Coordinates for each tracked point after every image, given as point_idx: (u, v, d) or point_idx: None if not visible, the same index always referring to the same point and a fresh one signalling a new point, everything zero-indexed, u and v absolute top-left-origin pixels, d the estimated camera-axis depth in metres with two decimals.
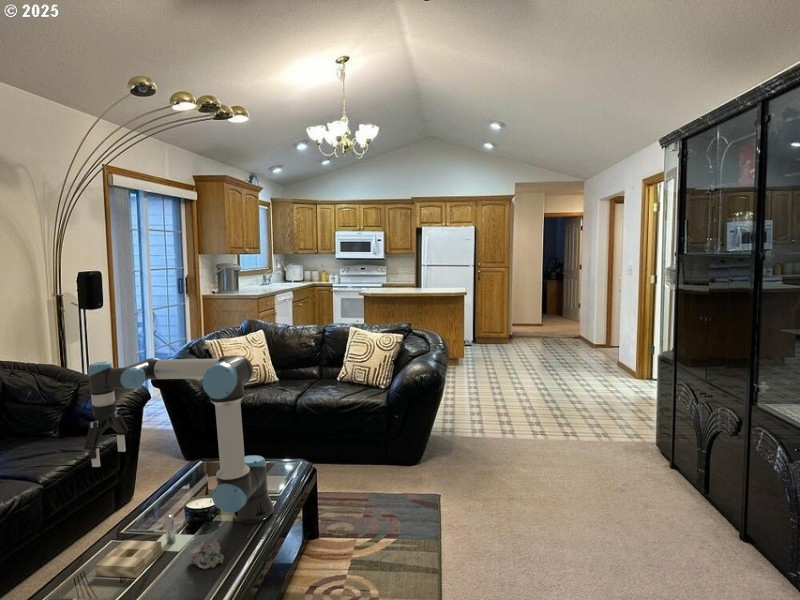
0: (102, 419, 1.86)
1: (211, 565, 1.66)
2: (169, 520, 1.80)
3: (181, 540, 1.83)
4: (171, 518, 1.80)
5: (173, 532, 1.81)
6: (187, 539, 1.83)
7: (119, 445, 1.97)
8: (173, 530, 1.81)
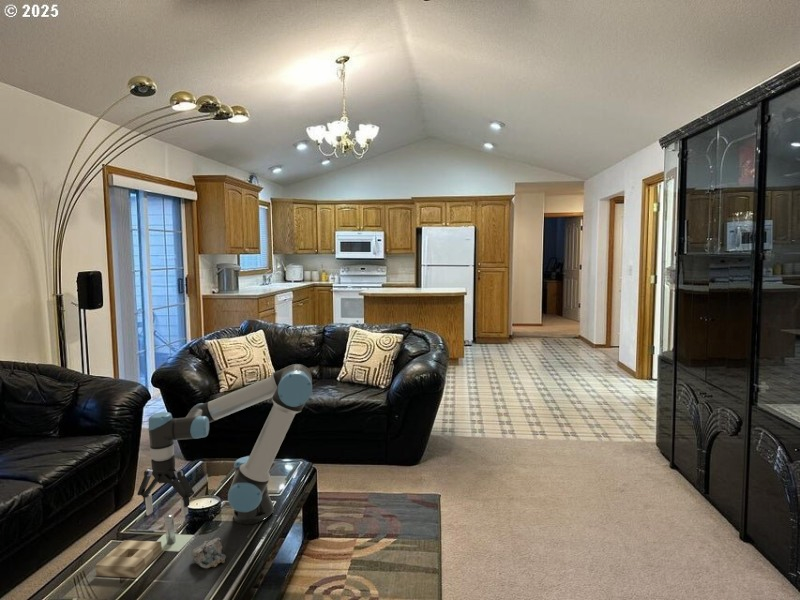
0: (154, 471, 1.78)
1: (212, 565, 1.67)
2: (169, 520, 1.80)
3: (181, 540, 1.83)
4: (171, 518, 1.80)
5: (173, 532, 1.81)
6: (187, 539, 1.83)
7: None
8: (173, 530, 1.81)
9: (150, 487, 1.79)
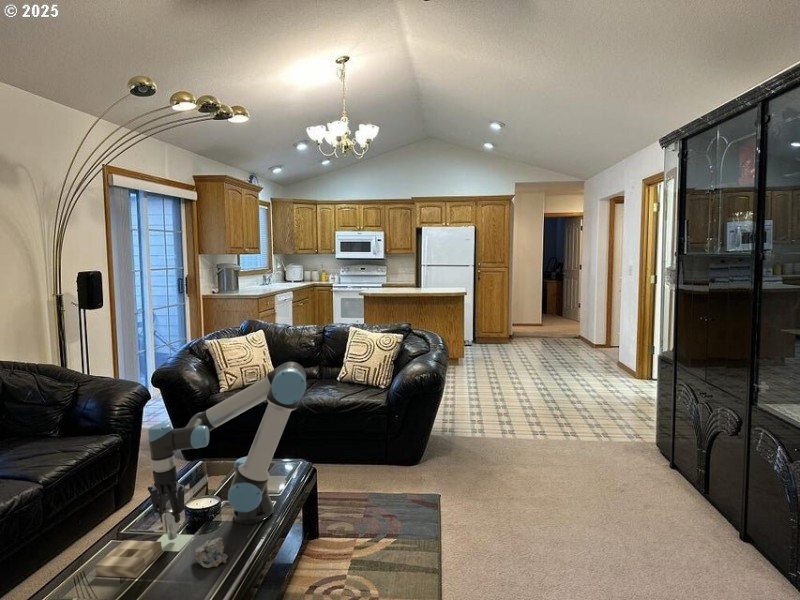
0: (155, 482, 1.79)
1: (214, 564, 1.67)
2: (170, 515, 1.80)
3: (181, 540, 1.83)
4: (172, 513, 1.80)
5: None
6: (187, 539, 1.83)
7: None
8: None
9: (160, 501, 1.79)
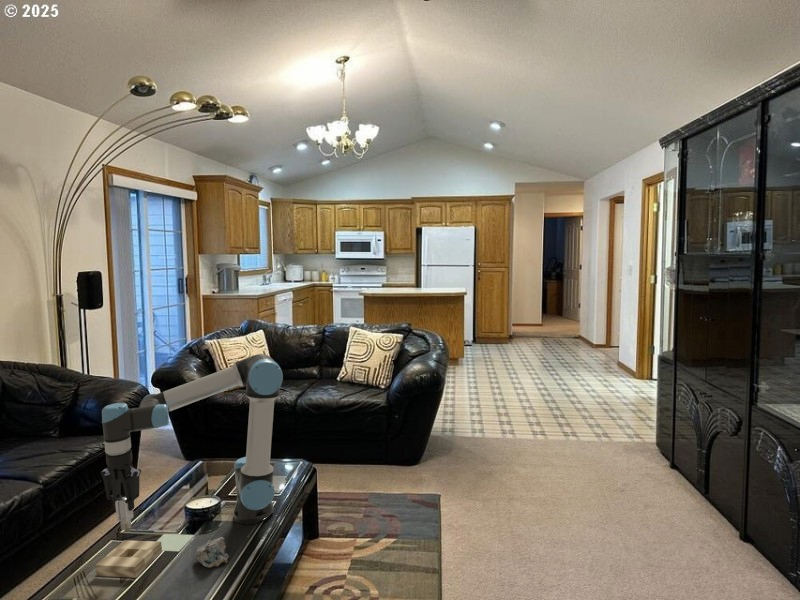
0: (109, 467, 1.67)
1: (215, 564, 1.67)
2: (123, 503, 1.67)
3: (181, 540, 1.83)
4: None
5: None
6: (187, 539, 1.83)
7: None
8: None
9: (114, 487, 1.67)
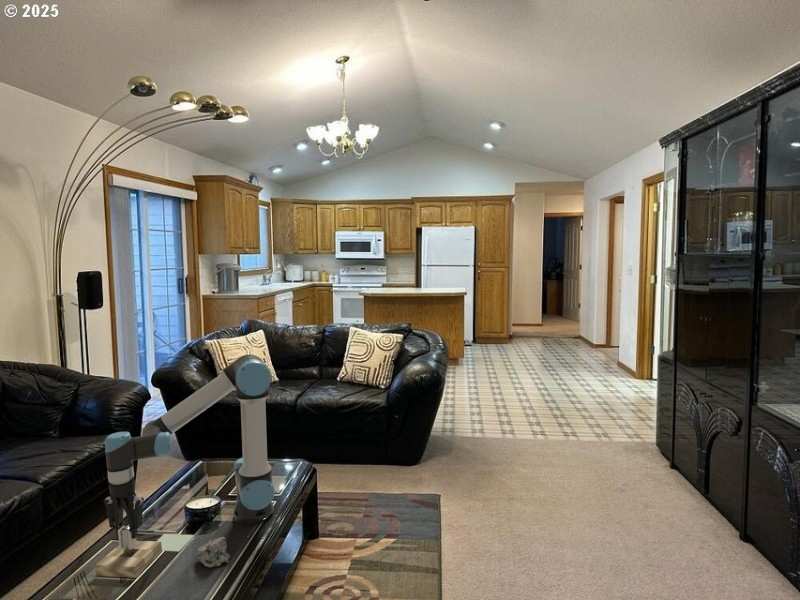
0: (112, 495, 1.67)
1: (216, 564, 1.67)
2: (126, 532, 1.68)
3: (181, 540, 1.83)
4: None
5: None
6: (187, 539, 1.83)
7: None
8: None
9: (117, 516, 1.68)
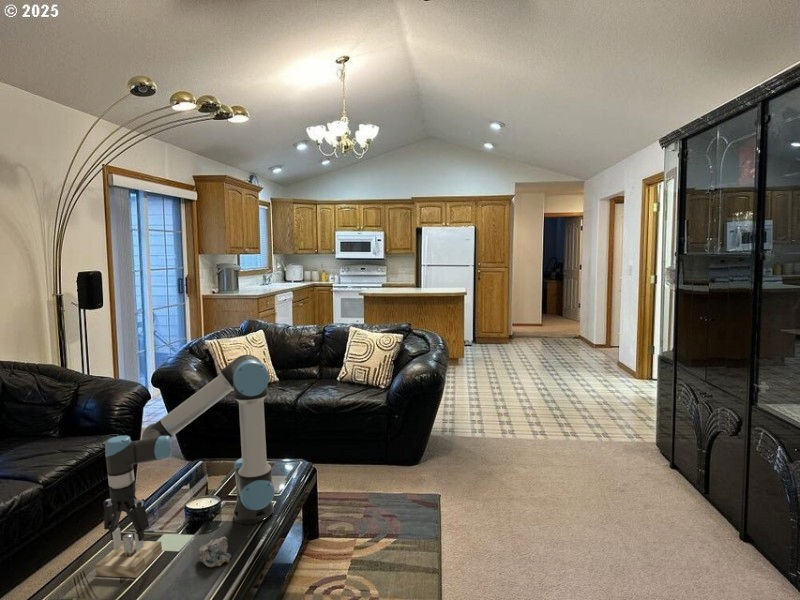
0: (113, 499, 1.68)
1: (217, 564, 1.67)
2: (128, 540, 1.68)
3: (181, 540, 1.83)
4: (130, 538, 1.69)
5: (132, 553, 1.70)
6: (187, 539, 1.83)
7: None
8: (132, 551, 1.70)
9: (114, 518, 1.68)
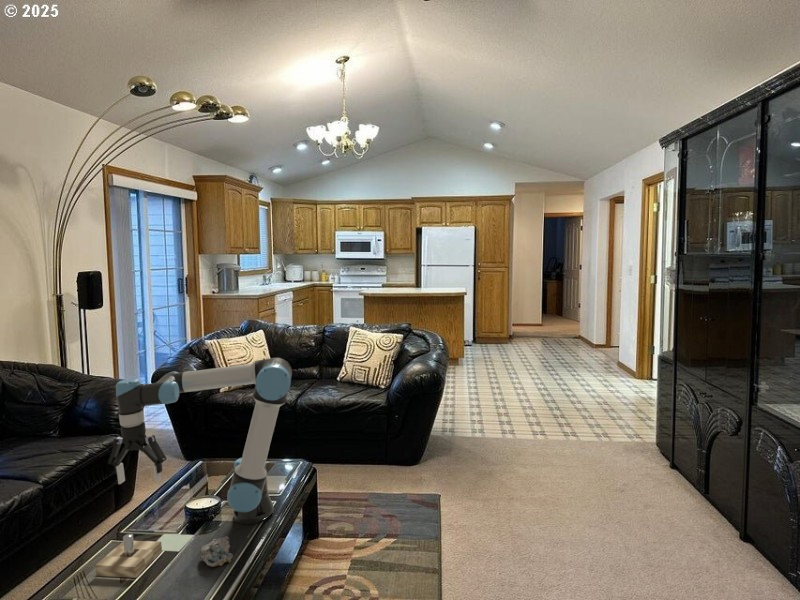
0: (124, 439, 1.76)
1: (219, 563, 1.67)
2: (128, 540, 1.68)
3: (181, 540, 1.83)
4: (130, 538, 1.69)
5: (132, 553, 1.70)
6: (187, 539, 1.83)
7: None
8: (132, 551, 1.70)
9: (121, 455, 1.77)
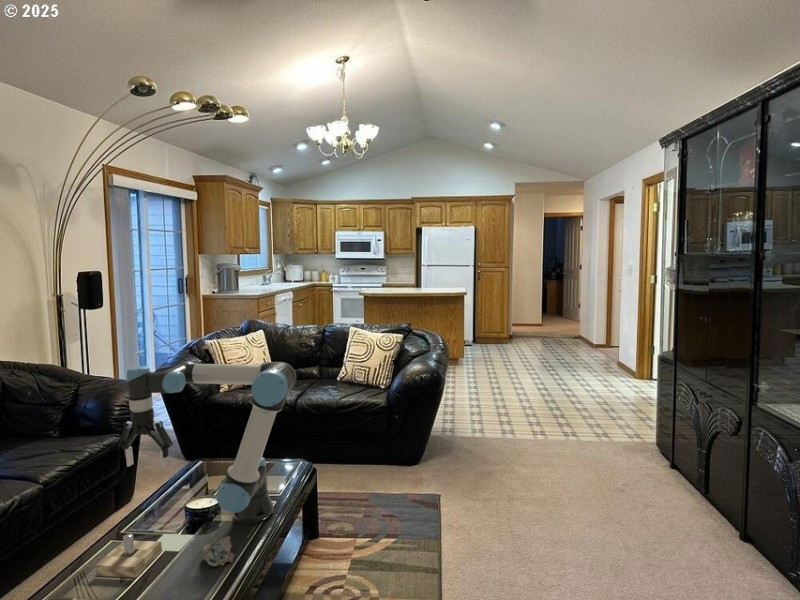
0: (134, 423, 1.83)
1: (220, 563, 1.67)
2: (128, 540, 1.69)
3: (181, 540, 1.83)
4: (130, 538, 1.69)
5: (133, 553, 1.70)
6: (187, 539, 1.83)
7: None
8: (133, 551, 1.70)
9: (130, 439, 1.84)
